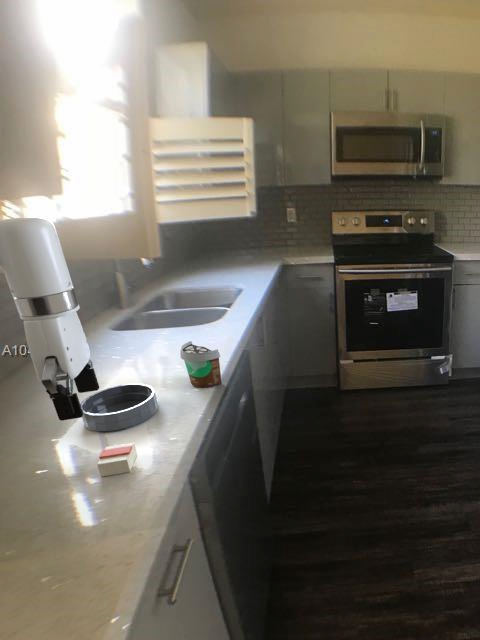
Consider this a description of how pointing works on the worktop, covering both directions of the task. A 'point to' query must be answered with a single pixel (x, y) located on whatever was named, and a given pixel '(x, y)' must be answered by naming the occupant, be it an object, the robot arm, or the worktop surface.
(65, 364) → the robot arm
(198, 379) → the food container
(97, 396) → the pan
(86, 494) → the worktop surface
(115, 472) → the block
